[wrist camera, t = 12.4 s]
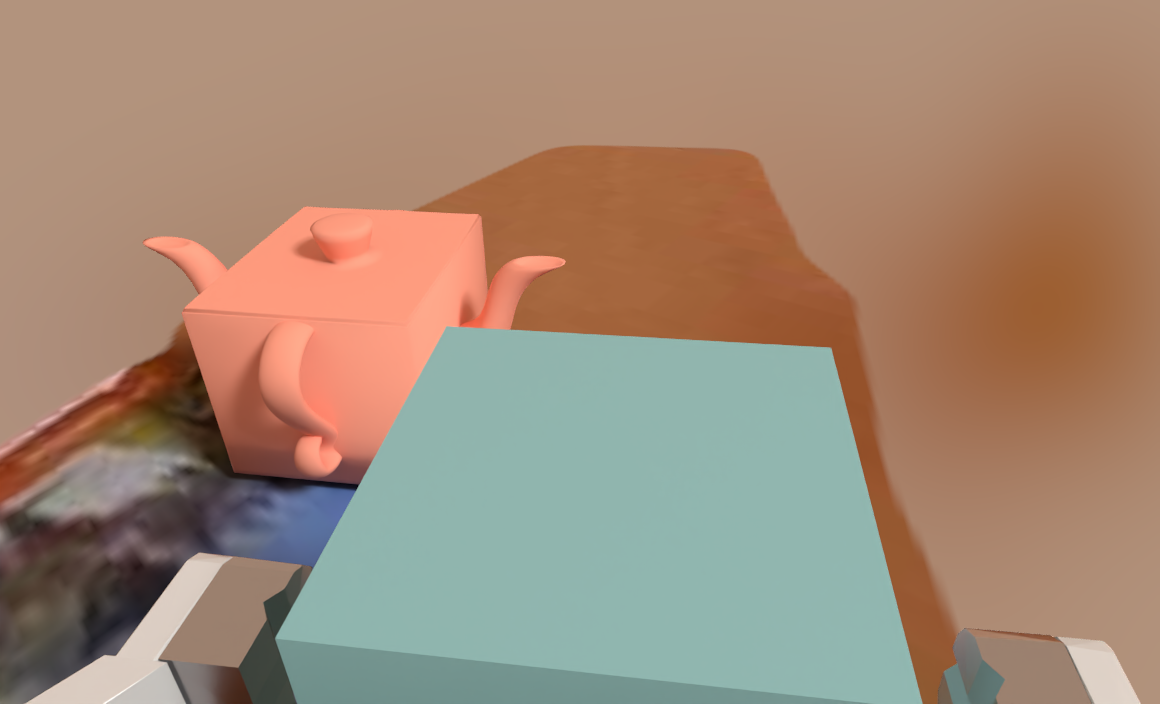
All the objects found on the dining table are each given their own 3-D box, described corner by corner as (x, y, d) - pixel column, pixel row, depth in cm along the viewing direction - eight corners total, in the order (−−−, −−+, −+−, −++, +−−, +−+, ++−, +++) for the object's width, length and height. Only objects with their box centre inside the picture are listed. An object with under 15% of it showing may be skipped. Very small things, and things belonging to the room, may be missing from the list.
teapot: (271, 332, 36) (225, 155, 32) (592, 354, 34) (590, 169, 30) (103, 511, 26) (2, 291, 22) (539, 557, 24) (525, 325, 20)
